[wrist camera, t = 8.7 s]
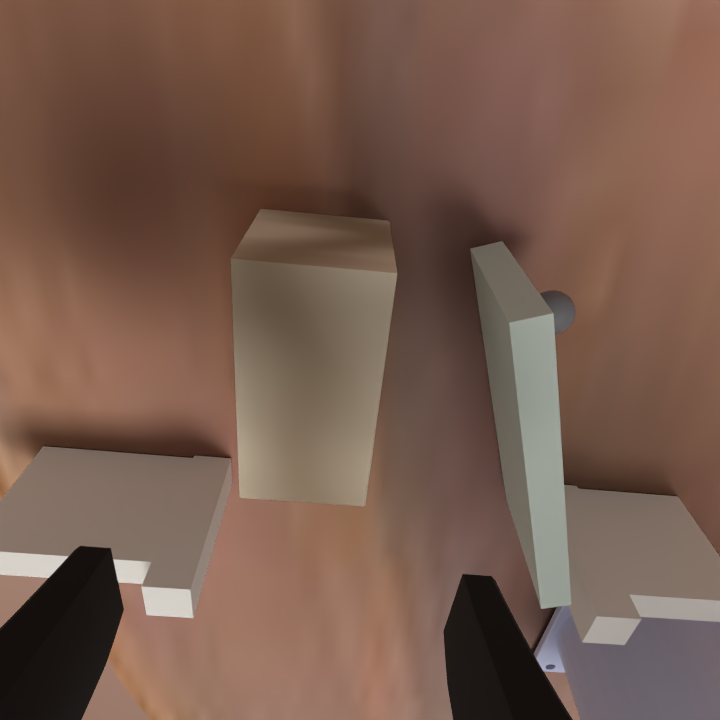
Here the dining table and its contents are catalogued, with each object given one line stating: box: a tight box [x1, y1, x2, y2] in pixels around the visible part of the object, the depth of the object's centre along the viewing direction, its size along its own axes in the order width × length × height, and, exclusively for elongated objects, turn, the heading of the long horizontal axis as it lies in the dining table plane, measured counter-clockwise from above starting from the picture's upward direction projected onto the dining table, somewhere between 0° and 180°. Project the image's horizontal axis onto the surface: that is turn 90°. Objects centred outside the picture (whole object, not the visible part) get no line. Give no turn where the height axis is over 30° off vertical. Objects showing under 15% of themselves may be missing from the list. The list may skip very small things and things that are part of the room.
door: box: [470, 241, 575, 609], centre depth 17 cm, size 11×2×5 cm, turn 14°
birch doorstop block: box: [231, 209, 397, 506], centre depth 16 cm, size 4×8×4 cm, turn 175°
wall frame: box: [0, 446, 720, 645], centre depth 20 cm, size 27×2×6 cm, turn 84°
